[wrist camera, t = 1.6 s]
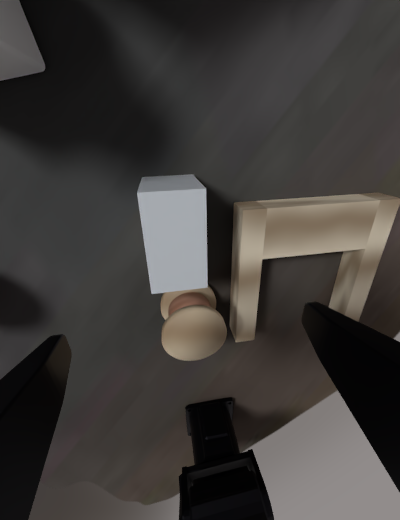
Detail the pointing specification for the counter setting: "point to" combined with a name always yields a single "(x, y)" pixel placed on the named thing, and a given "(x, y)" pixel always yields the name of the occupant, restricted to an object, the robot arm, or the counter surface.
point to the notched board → (308, 247)
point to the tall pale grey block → (174, 232)
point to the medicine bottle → (17, 43)
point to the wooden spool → (191, 324)
